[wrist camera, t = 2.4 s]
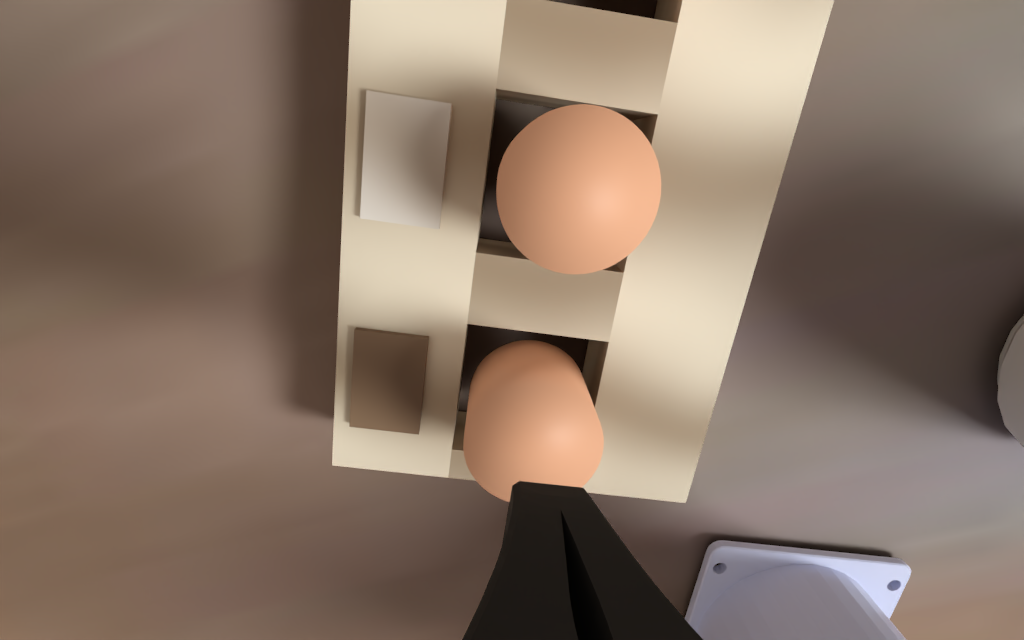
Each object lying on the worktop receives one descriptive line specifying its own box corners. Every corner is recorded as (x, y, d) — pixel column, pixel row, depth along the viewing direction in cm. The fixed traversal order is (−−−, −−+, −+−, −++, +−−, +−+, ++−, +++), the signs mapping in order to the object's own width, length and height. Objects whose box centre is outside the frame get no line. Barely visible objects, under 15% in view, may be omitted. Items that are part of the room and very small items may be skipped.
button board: (662, 459, 18) (687, 507, 16) (353, 424, 18) (330, 469, 15) (827, -153, 13) (906, -226, 10) (389, -241, 12) (362, -342, 10)
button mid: (613, 259, 14) (640, 284, 11) (489, 241, 14) (486, 263, 11) (641, 125, 13) (678, 118, 10) (506, 104, 12) (508, 91, 10)
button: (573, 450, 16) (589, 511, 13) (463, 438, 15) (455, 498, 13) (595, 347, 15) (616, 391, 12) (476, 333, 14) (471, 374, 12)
